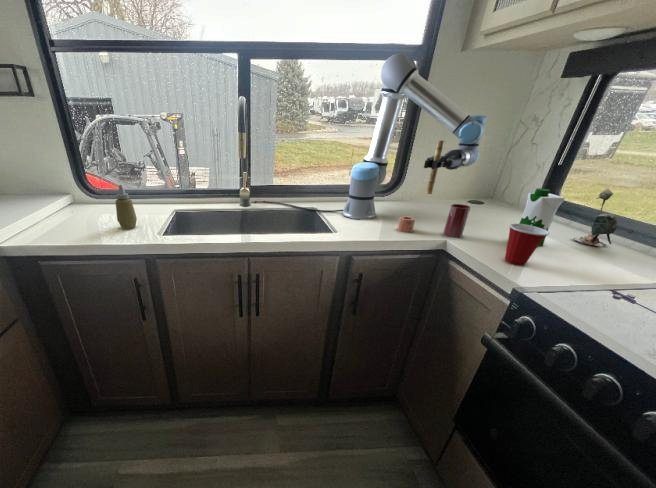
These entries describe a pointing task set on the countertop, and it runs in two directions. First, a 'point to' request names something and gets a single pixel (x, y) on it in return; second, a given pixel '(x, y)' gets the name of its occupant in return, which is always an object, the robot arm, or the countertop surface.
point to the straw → (434, 171)
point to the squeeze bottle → (125, 210)
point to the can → (456, 220)
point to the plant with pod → (601, 224)
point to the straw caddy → (406, 224)
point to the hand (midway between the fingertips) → (429, 164)
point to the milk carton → (541, 209)
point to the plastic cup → (523, 242)
